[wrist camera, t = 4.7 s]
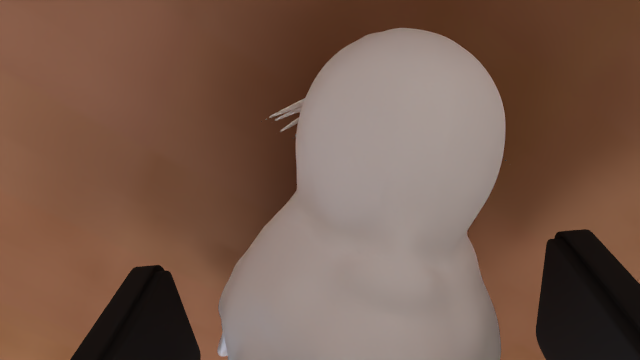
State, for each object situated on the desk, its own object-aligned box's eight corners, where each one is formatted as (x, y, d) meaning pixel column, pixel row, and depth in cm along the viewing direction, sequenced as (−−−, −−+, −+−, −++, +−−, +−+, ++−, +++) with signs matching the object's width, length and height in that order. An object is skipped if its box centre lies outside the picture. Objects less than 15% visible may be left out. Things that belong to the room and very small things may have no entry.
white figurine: (98, 802, 7) (26, -26, 2) (225, 372, 15) (266, -1, 10) (485, 844, 7) (1134, 173, 2) (404, 399, 15) (523, 46, 10)
